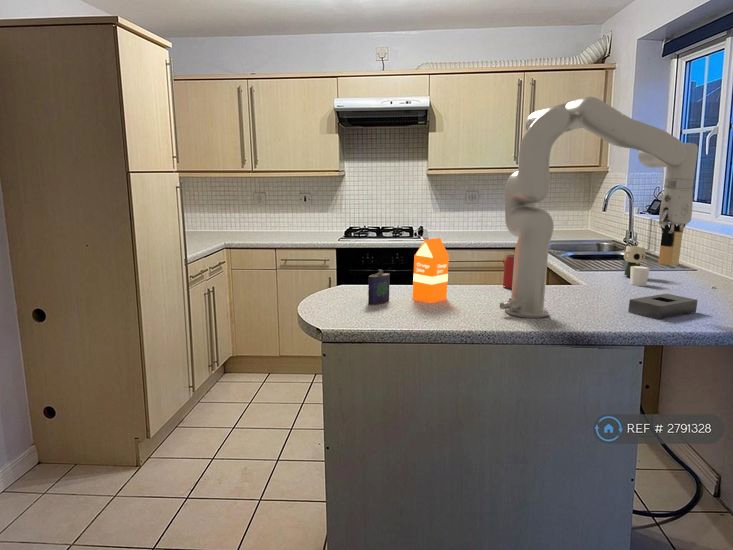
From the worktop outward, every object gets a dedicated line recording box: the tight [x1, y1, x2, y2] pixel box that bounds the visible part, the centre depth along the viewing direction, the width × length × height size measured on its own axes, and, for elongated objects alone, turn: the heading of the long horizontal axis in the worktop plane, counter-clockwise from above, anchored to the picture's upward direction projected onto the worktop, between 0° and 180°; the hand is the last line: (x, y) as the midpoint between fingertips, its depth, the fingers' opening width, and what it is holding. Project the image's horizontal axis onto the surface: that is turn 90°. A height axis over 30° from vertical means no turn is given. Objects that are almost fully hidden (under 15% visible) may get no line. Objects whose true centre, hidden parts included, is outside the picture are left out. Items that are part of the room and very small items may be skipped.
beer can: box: [502, 254, 514, 290], centre depth 203 cm, size 7×7×12 cm
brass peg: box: [657, 231, 684, 266], centre depth 168 cm, size 4×4×10 cm
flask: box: [367, 269, 391, 306], centre depth 173 cm, size 9×3×11 cm, turn 138°
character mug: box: [623, 245, 647, 278], centre depth 231 cm, size 11×7×13 cm, turn 108°
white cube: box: [629, 265, 651, 287], centre depth 216 cm, size 7×7×7 cm
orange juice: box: [412, 237, 450, 304], centre depth 179 cm, size 8×9×20 cm
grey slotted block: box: [627, 293, 698, 320], centre depth 171 cm, size 20×10×4 cm, turn 121°
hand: (670, 245), depth 168 cm, fingers closed on brass peg, 4 cm apart
